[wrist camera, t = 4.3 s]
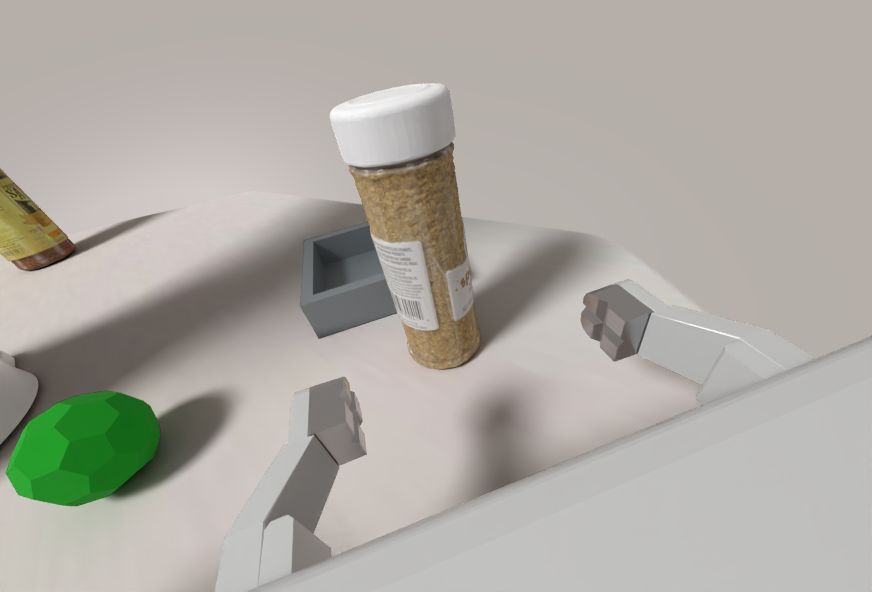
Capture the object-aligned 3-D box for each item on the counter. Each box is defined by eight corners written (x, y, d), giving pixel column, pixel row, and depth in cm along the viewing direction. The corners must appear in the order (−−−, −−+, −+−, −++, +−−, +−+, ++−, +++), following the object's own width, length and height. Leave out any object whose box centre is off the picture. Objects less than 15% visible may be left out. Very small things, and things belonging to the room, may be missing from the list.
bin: (318, 338, 23) (300, 305, 21) (317, 268, 30) (303, 240, 28) (449, 295, 24) (443, 260, 22) (417, 238, 31) (410, 209, 29)
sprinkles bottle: (496, 348, 19) (473, 79, 11) (428, 386, 18) (344, 114, 10) (456, 308, 23) (415, 78, 14) (396, 337, 21) (314, 105, 13)
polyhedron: (188, 409, 20) (129, 358, 17) (169, 489, 16) (88, 441, 13) (95, 448, 19) (14, 400, 16) (51, 543, 15) (-66, 503, 12)
